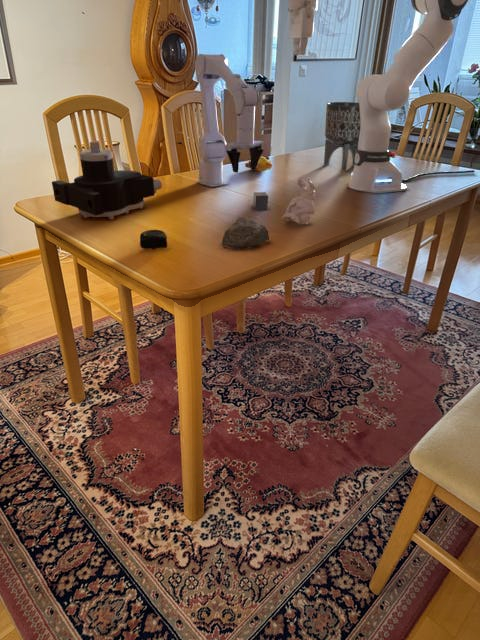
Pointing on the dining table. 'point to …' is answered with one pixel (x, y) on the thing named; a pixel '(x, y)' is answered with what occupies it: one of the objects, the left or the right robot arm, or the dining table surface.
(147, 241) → the tape measure
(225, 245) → the rock
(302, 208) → the figurine
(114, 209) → the mechanical component
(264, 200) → the brick
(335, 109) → the planter
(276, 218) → the dining table surface
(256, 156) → the left robot arm
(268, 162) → the toy
